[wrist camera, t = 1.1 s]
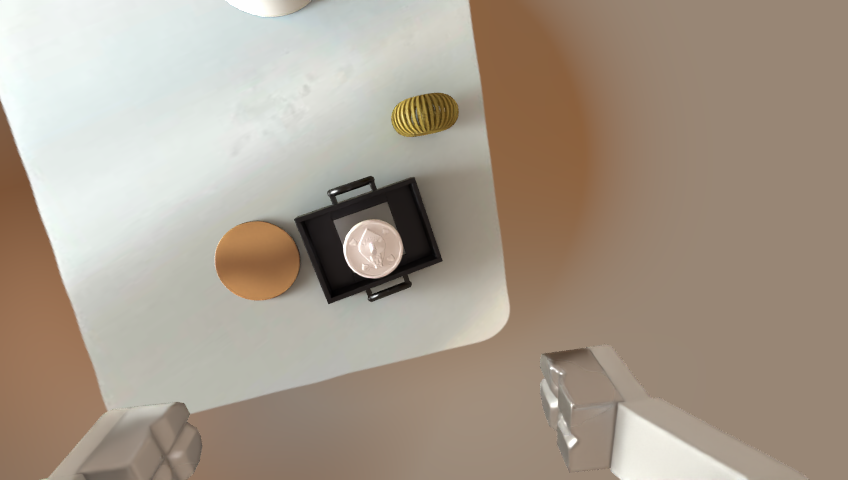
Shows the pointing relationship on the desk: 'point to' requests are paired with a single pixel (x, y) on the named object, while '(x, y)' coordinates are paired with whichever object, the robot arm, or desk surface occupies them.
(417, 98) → the sculpture
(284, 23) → the desk surface
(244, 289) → the cork pad
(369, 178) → the pan
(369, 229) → the smoothie
